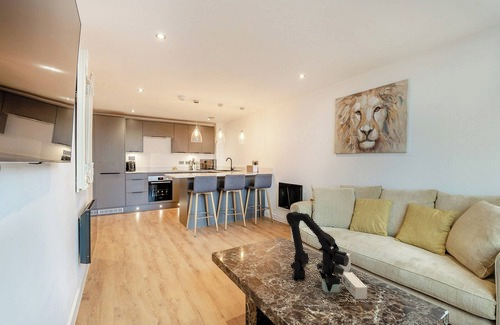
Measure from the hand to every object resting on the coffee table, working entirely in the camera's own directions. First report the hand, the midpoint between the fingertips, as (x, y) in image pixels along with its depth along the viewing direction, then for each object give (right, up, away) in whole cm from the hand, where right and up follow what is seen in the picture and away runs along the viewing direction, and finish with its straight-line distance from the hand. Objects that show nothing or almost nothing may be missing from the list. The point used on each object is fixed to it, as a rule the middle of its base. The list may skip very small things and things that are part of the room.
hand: (327, 288), depth 125 cm
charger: (+3, -1, 0) cm, 3 cm away
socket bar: (+15, -1, +1) cm, 15 cm away
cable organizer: (+14, -1, +22) cm, 26 cm away
